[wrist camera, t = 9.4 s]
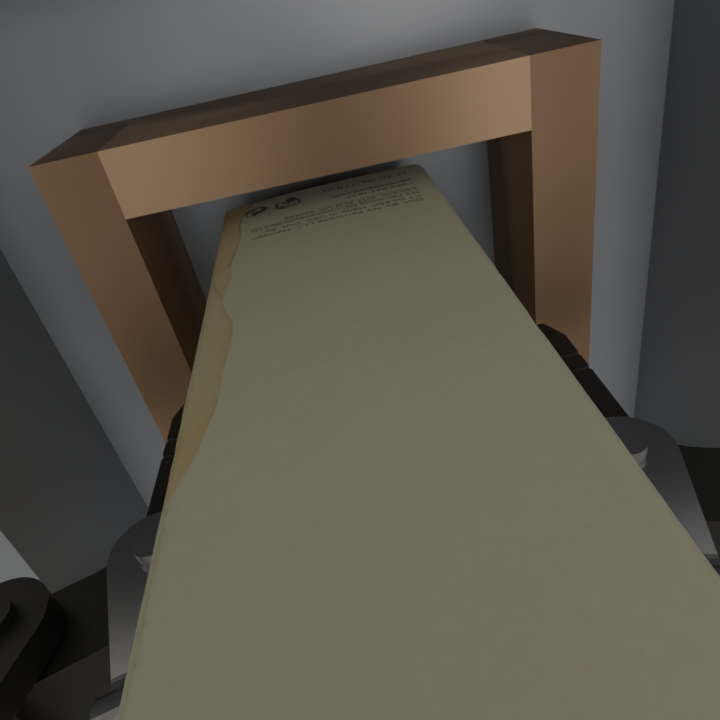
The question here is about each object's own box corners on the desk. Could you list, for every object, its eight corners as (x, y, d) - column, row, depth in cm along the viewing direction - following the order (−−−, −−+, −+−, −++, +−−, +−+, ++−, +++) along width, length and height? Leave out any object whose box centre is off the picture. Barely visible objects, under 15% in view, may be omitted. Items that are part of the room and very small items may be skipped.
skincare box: (221, 205, 12) (-153, 1375, 2) (431, 155, 12) (1209, 1128, 2) (300, 430, 16) (313, 1274, 5) (463, 393, 15) (791, 1189, 5)
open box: (152, 549, 21) (108, 727, 16) (-211, -59, 11) (-632, -94, 6) (648, 445, 20) (763, 595, 15) (735, -280, 11) (1131, -514, 6)
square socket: (225, 462, 18) (215, 541, 15) (81, 129, 12) (27, 166, 10) (542, 395, 17) (585, 464, 15) (537, 27, 12) (601, 39, 10)
